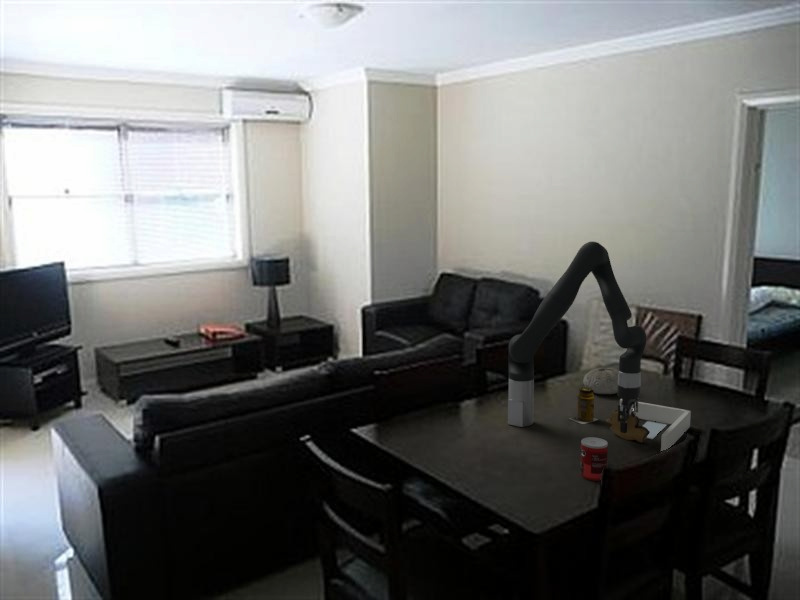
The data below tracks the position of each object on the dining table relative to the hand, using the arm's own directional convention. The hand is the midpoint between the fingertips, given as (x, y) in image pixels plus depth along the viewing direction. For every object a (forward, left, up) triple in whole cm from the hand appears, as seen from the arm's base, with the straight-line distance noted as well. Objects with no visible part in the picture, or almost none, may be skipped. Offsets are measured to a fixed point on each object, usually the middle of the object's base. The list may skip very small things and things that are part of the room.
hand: (627, 429), depth 240 cm
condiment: (+10, +20, -4) cm, 23 cm away
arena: (+9, -2, -3) cm, 10 cm away
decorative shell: (+48, +26, -4) cm, 55 cm away
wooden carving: (0, 0, -4) cm, 4 cm away
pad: (+12, -4, -3) cm, 14 cm away
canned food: (-36, -2, -4) cm, 36 cm away
